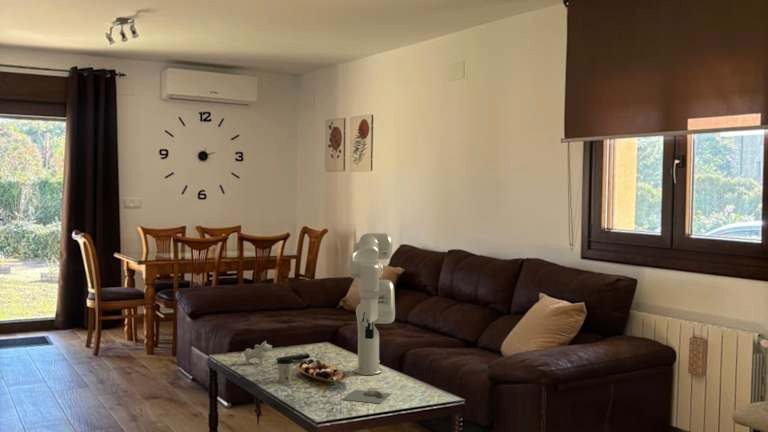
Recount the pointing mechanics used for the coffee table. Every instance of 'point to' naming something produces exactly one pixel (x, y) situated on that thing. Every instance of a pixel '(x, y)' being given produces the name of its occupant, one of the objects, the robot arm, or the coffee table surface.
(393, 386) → the coffee table surface
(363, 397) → the mat
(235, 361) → the coffee table surface
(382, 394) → the lighter
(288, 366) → the coffee cup
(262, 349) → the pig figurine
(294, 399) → the coffee table surface
